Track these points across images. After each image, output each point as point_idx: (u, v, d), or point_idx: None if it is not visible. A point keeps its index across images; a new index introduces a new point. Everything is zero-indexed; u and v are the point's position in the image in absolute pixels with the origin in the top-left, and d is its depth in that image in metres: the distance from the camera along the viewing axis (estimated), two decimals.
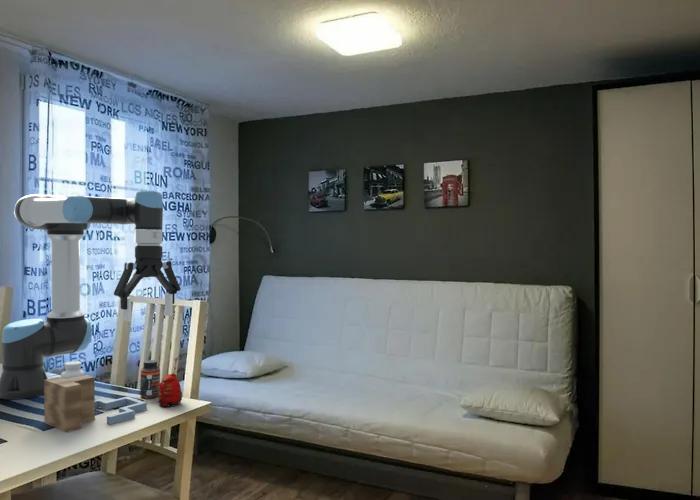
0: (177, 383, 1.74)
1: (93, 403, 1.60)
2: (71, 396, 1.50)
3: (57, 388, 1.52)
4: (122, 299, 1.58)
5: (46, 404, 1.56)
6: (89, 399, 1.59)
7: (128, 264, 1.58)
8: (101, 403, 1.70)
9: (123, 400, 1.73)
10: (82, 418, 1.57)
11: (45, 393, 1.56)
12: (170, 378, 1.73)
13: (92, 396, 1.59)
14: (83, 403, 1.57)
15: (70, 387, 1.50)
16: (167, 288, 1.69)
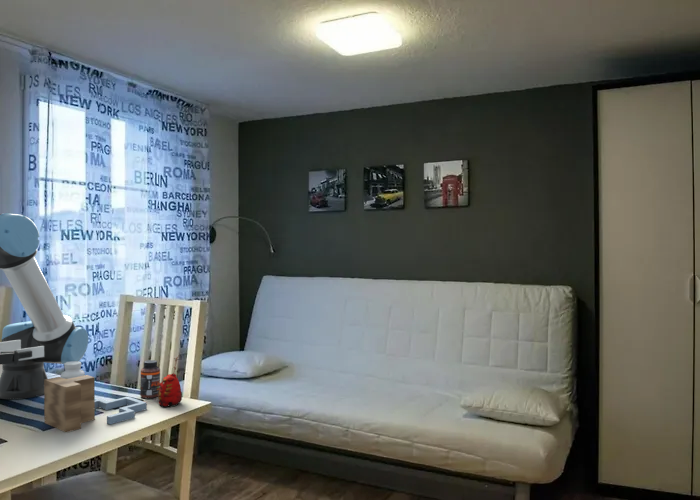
0: (177, 383, 1.74)
1: (93, 403, 1.60)
2: (71, 396, 1.50)
3: (57, 388, 1.52)
4: None
5: (46, 404, 1.56)
6: (89, 399, 1.59)
7: None
8: (101, 403, 1.70)
9: (123, 400, 1.73)
10: (82, 418, 1.57)
11: (45, 393, 1.56)
12: (170, 378, 1.73)
13: (92, 396, 1.59)
14: (83, 403, 1.57)
15: (70, 387, 1.50)
16: None
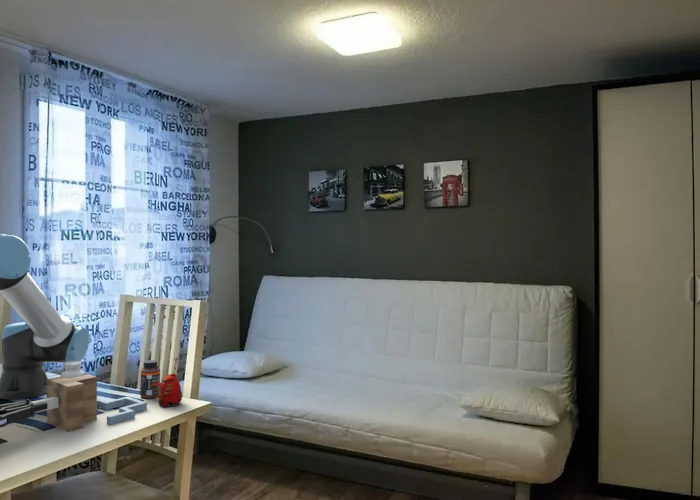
0: (177, 383, 1.74)
1: (95, 402, 1.60)
2: (74, 395, 1.51)
3: (60, 388, 1.52)
4: None
5: None
6: (91, 398, 1.59)
7: None
8: (101, 403, 1.70)
9: (123, 400, 1.73)
10: (84, 417, 1.58)
11: (47, 392, 1.57)
12: (170, 378, 1.73)
13: (94, 395, 1.60)
14: (85, 402, 1.58)
15: (72, 386, 1.51)
16: None
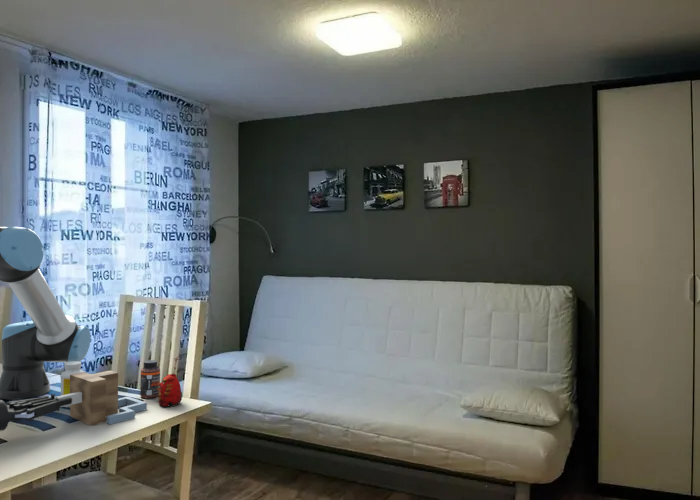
0: (177, 383, 1.74)
1: (116, 397, 1.65)
2: (97, 390, 1.56)
3: (83, 383, 1.57)
4: None
5: None
6: (113, 393, 1.64)
7: None
8: None
9: (123, 400, 1.73)
10: (106, 412, 1.63)
11: (71, 388, 1.62)
12: (170, 378, 1.73)
13: (115, 391, 1.65)
14: (107, 397, 1.63)
15: (96, 382, 1.56)
16: None
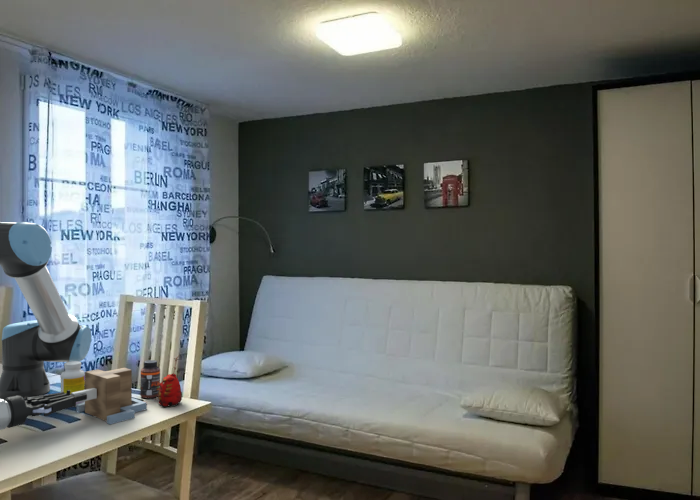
0: (177, 383, 1.74)
1: (130, 394, 1.69)
2: (112, 387, 1.60)
3: (98, 380, 1.61)
4: None
5: None
6: (127, 390, 1.68)
7: None
8: None
9: None
10: None
11: (86, 384, 1.65)
12: (170, 378, 1.73)
13: (129, 387, 1.68)
14: (121, 394, 1.66)
15: (111, 378, 1.59)
16: None
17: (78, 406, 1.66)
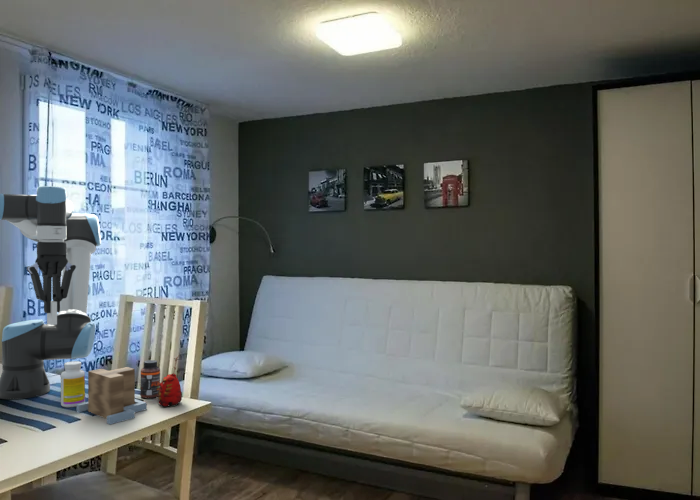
0: (177, 383, 1.74)
1: (133, 393, 1.70)
2: (115, 386, 1.60)
3: (102, 379, 1.62)
4: (45, 303, 1.60)
5: (90, 394, 1.66)
6: (130, 389, 1.69)
7: (30, 270, 1.56)
8: None
9: None
10: (123, 407, 1.67)
11: (89, 384, 1.66)
12: (170, 378, 1.73)
13: (132, 387, 1.69)
14: (124, 393, 1.67)
15: (114, 378, 1.60)
16: (55, 292, 1.62)
17: (78, 406, 1.66)
